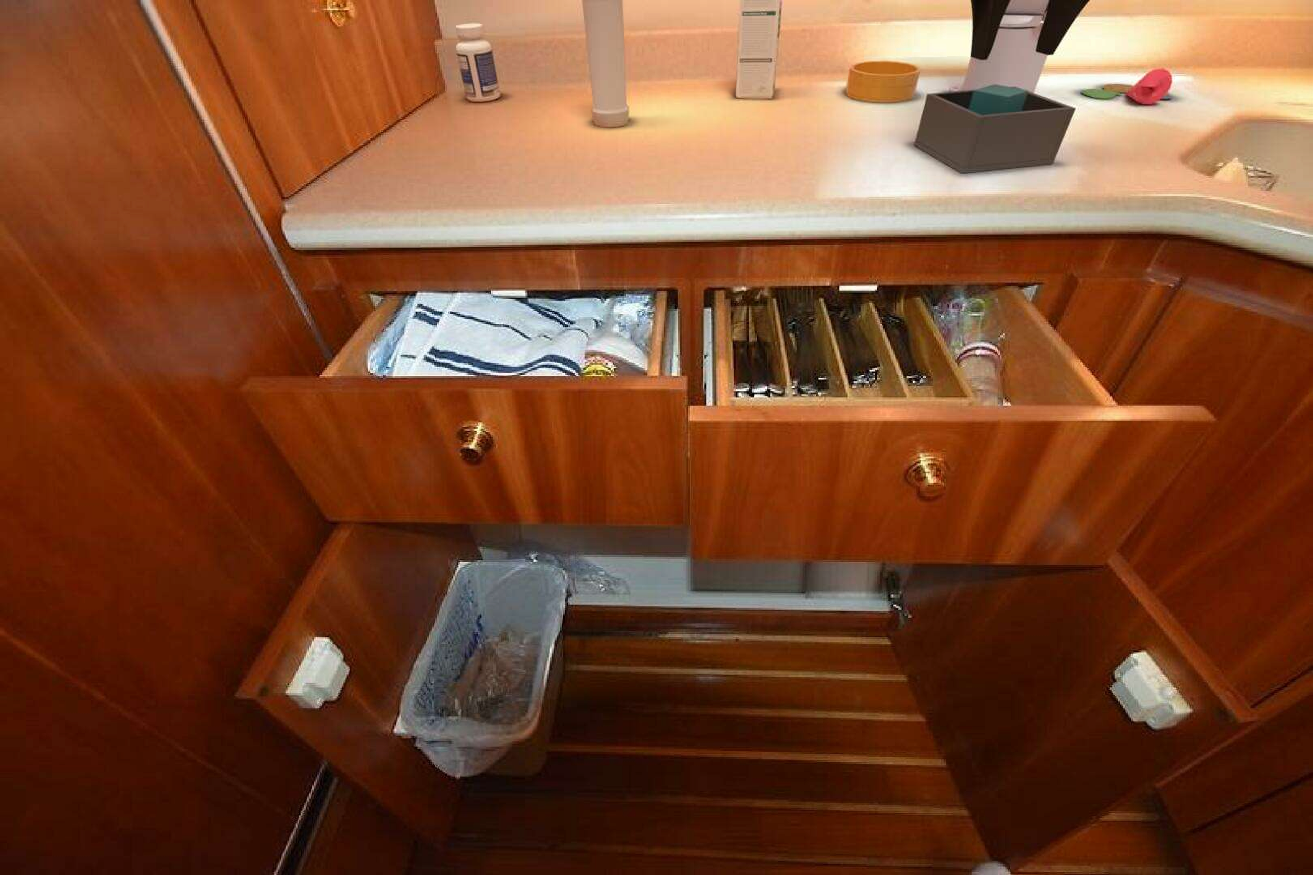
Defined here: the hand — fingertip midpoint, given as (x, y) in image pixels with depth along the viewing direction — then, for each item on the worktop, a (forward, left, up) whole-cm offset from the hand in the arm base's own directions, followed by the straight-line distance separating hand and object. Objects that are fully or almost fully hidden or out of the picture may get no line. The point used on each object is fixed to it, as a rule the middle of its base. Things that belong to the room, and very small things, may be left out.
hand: (1011, 55), depth 62 cm
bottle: (+40, -26, -10) cm, 49 cm away
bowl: (-2, -29, -10) cm, 30 cm away
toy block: (0, 0, -9) cm, 9 cm away
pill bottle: (+58, -46, -10) cm, 75 cm away
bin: (0, 0, -10) cm, 10 cm away
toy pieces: (-35, -17, -10) cm, 40 cm away
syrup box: (+16, -35, -10) cm, 40 cm away
